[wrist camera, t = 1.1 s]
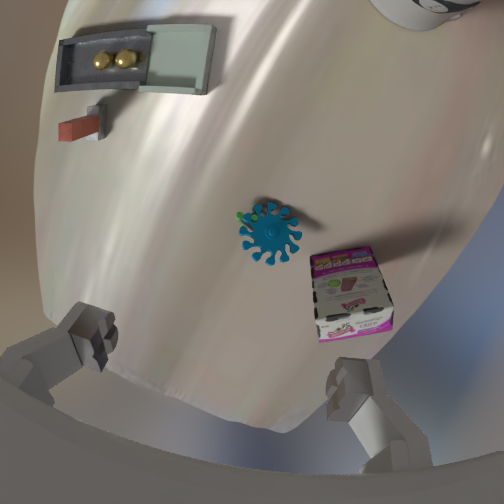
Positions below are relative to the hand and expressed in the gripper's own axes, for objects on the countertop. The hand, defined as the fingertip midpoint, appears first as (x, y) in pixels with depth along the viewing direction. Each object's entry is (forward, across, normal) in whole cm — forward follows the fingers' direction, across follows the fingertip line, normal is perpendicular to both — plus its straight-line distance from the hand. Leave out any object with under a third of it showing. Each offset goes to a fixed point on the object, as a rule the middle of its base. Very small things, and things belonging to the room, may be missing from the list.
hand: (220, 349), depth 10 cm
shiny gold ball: (+38, +24, -12) cm, 47 cm away
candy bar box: (+40, -15, +18) cm, 46 cm away
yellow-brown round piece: (+38, +29, -12) cm, 49 cm away
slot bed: (+39, +30, -12) cm, 51 cm away
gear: (+40, -1, +13) cm, 42 cm away
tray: (+39, +17, -12) cm, 44 cm away
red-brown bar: (+39, +30, -1) cm, 50 cm away
